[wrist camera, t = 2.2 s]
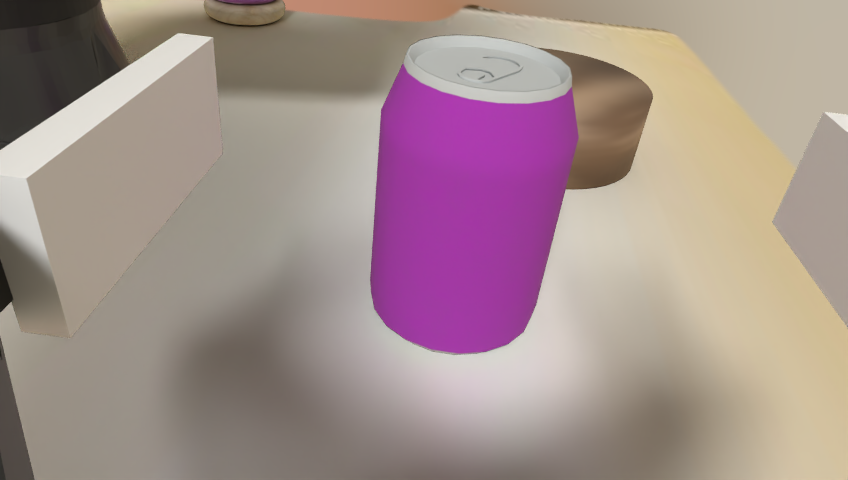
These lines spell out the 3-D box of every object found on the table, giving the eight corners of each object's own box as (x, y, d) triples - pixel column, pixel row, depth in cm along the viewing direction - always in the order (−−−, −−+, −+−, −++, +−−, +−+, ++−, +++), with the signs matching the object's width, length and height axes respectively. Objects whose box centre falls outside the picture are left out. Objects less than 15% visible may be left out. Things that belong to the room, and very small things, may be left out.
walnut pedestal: (416, 128, 47) (423, 61, 44) (534, 97, 54) (546, 38, 51) (551, 208, 39) (569, 133, 36) (667, 160, 46) (690, 94, 44)
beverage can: (480, 396, 26) (538, 122, 19) (334, 315, 29) (341, 56, 22) (556, 302, 31) (622, 64, 25) (426, 243, 35) (454, 18, 28)
